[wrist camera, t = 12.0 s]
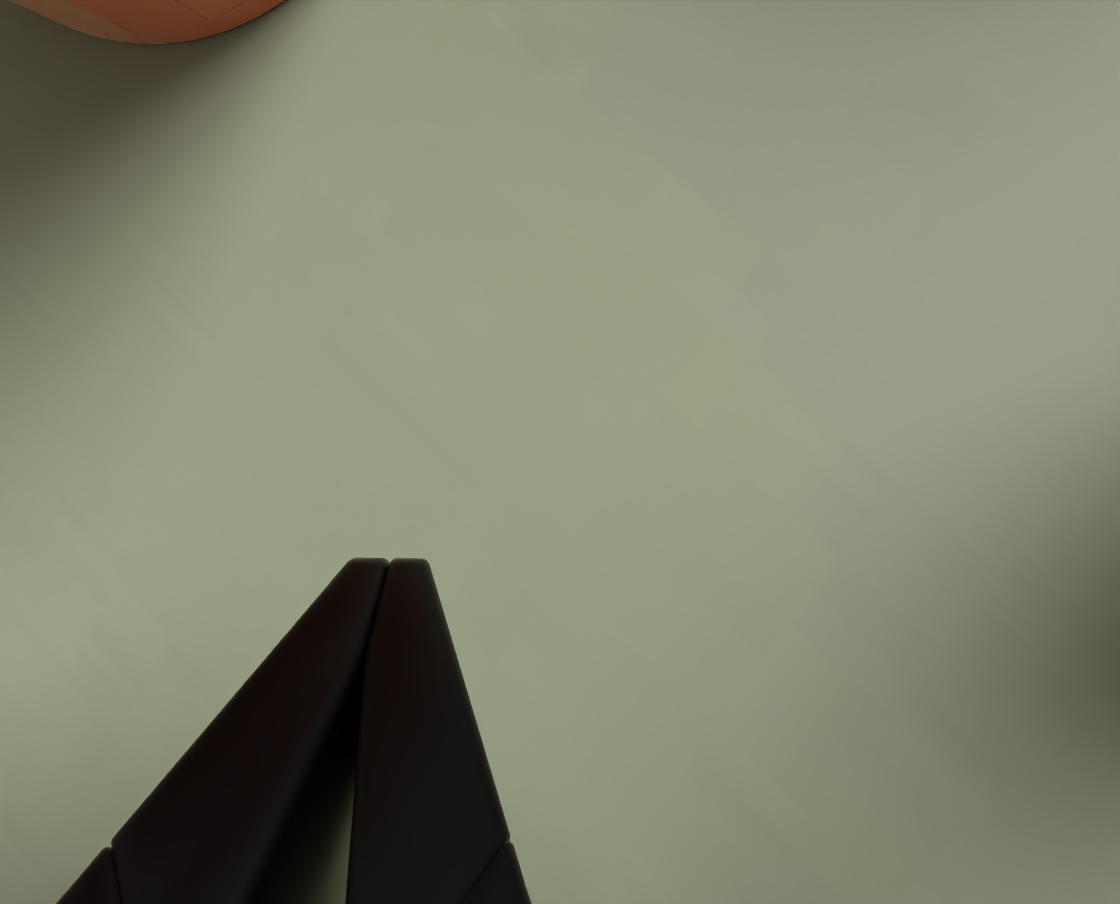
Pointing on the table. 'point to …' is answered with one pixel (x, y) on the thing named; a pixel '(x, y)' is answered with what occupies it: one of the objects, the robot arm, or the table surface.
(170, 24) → the bucket
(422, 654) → the robot arm
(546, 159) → the table surface
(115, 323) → the table surface
